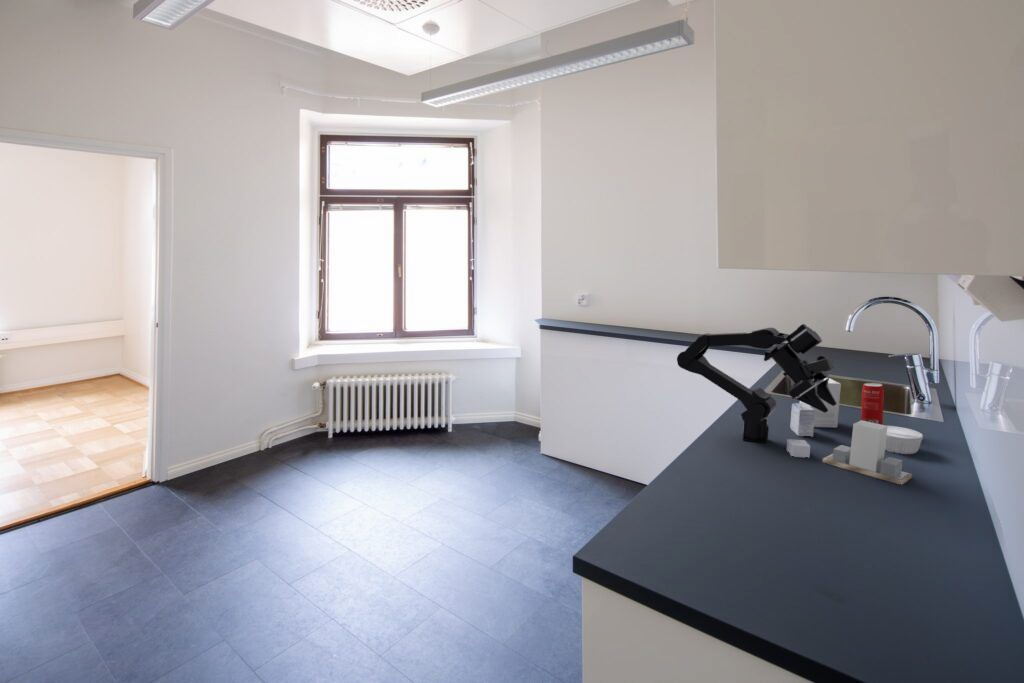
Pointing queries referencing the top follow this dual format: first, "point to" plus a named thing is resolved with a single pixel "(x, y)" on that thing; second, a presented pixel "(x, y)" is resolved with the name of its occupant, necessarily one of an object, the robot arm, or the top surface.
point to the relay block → (798, 448)
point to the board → (868, 472)
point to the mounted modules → (887, 465)
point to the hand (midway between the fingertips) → (831, 408)
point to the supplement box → (832, 414)
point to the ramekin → (902, 440)
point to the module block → (868, 445)
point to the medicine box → (802, 419)
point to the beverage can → (872, 403)
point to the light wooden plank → (898, 476)
